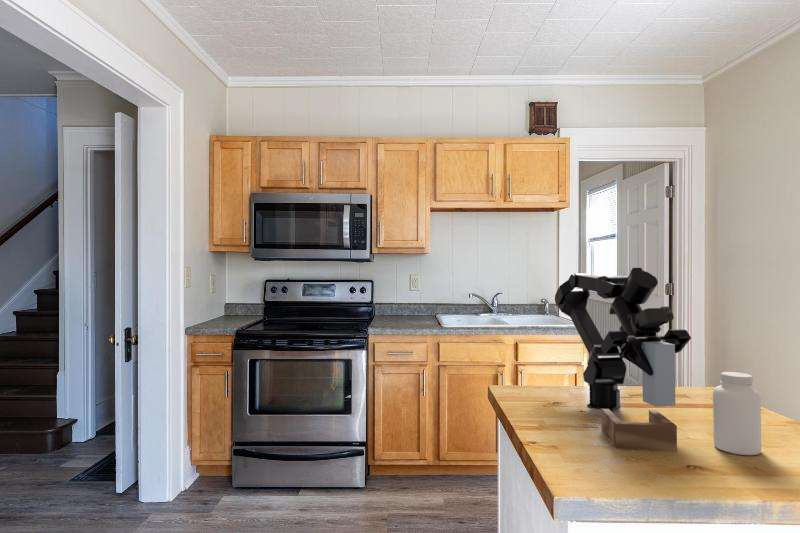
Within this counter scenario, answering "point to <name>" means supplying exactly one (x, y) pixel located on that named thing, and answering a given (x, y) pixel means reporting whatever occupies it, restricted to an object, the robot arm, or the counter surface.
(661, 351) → the block
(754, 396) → the pill bottle
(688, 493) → the counter surface
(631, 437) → the brown wooden tray
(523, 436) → the counter surface
